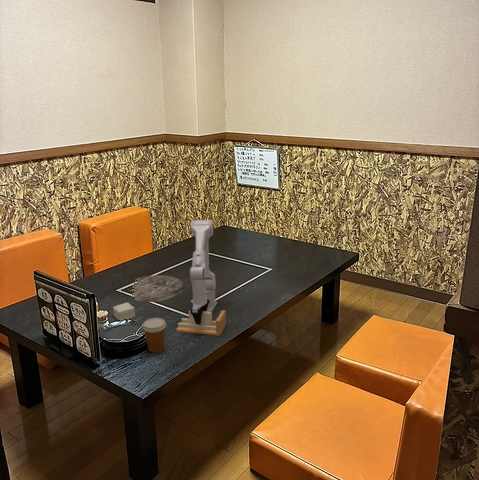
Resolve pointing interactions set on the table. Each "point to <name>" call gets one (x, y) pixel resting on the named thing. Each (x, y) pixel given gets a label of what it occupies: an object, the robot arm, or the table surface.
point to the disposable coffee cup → (155, 334)
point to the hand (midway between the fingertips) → (201, 319)
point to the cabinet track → (204, 326)
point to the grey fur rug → (156, 288)
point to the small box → (123, 311)
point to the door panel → (205, 318)
